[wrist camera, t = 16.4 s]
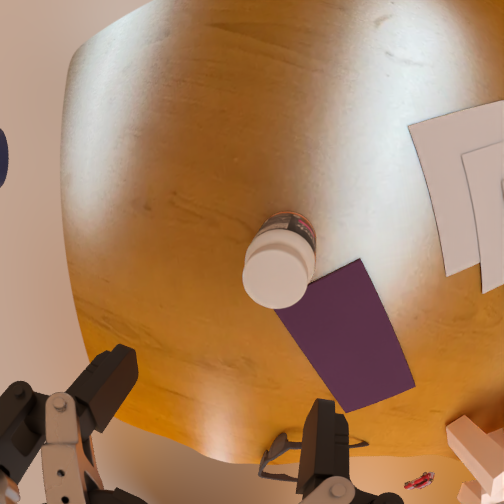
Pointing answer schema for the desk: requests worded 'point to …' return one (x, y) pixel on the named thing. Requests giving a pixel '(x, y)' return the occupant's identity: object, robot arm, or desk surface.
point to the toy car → (420, 481)
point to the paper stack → (467, 187)
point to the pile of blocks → (479, 461)
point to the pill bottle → (280, 260)
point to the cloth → (349, 338)
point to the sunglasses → (279, 448)
